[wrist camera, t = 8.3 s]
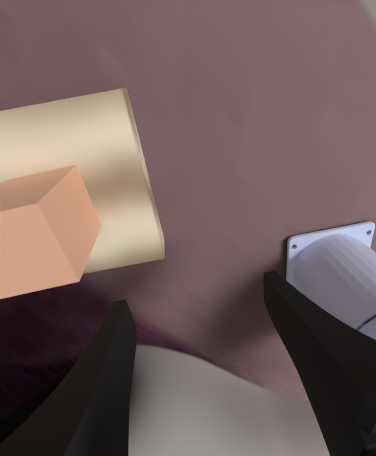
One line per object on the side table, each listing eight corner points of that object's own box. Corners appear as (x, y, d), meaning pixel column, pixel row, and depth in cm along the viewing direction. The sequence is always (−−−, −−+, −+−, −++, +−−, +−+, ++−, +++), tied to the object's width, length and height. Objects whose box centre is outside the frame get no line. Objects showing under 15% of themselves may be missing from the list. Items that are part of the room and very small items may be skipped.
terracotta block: (101, 225, 18) (79, 281, 13) (40, 238, 18) (-6, 300, 13) (76, 164, 16) (37, 203, 11) (6, 180, 16) (-66, 226, 11)
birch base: (164, 238, 23) (164, 258, 20) (32, 263, 23) (16, 286, 20) (126, 87, 17) (121, 88, 14) (-53, 120, 17) (-91, 128, 14)
